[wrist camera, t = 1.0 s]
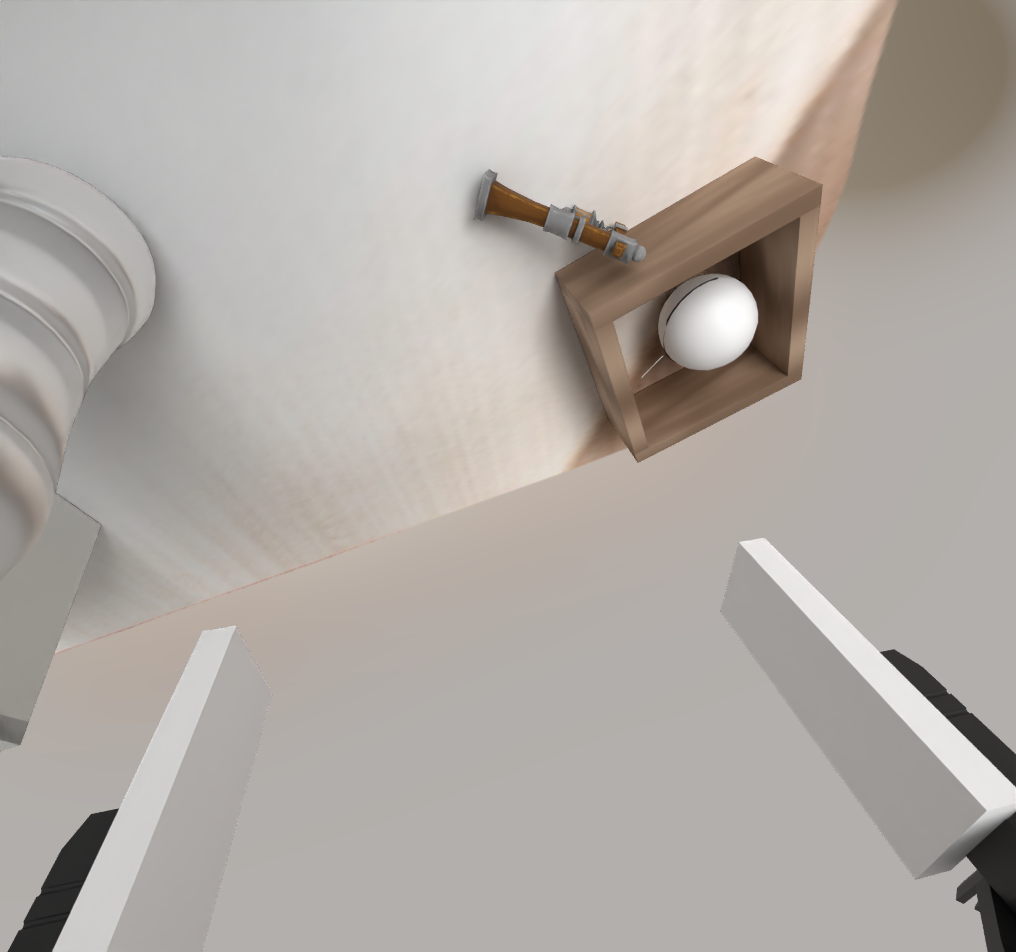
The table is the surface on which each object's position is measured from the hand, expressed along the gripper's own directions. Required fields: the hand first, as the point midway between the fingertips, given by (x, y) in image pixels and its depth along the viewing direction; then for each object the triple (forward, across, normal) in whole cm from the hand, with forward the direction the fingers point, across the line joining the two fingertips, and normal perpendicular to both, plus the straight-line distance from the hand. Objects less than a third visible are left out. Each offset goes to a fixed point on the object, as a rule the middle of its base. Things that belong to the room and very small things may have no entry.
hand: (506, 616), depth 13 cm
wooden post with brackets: (+18, +6, +9) cm, 21 cm away
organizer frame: (+21, +14, +2) cm, 25 cm away
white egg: (+21, +14, +2) cm, 26 cm away
